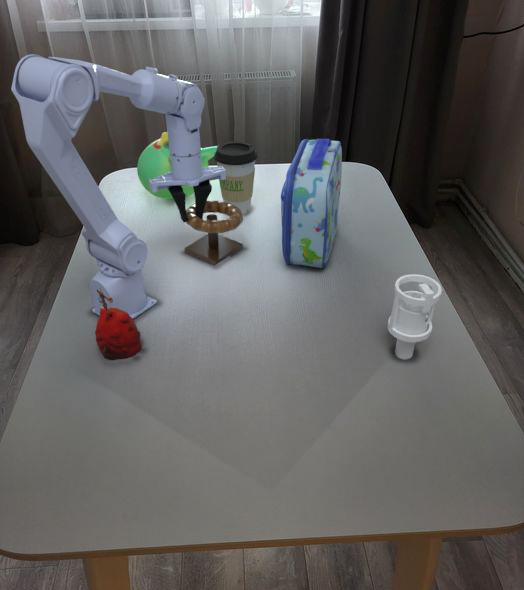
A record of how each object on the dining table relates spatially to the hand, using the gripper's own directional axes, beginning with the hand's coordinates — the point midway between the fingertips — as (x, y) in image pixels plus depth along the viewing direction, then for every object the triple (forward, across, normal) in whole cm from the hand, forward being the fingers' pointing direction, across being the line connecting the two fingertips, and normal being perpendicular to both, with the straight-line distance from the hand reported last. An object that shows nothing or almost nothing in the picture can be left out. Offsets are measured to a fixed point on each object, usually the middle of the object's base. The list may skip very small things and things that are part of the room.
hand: (191, 218), depth 111 cm
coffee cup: (+10, +17, +19) cm, 27 cm away
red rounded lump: (+10, -21, -22) cm, 32 cm away
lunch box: (+10, +26, -3) cm, 28 cm away
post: (+10, +5, +3) cm, 12 cm away
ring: (0, +5, 0) cm, 5 cm away
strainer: (+10, +24, -42) cm, 49 cm away
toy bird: (+10, +6, +32) cm, 34 cm away
